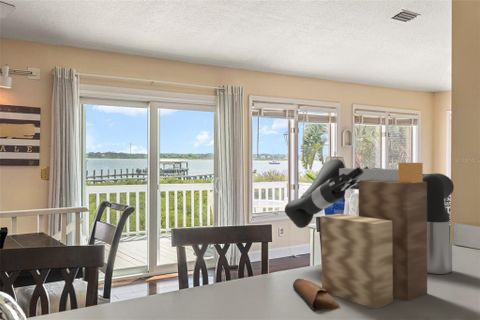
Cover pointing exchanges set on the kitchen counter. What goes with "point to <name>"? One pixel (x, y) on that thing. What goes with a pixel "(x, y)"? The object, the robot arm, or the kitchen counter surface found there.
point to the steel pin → (391, 173)
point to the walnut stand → (401, 230)
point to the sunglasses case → (315, 295)
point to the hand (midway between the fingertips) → (364, 169)
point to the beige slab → (358, 259)
